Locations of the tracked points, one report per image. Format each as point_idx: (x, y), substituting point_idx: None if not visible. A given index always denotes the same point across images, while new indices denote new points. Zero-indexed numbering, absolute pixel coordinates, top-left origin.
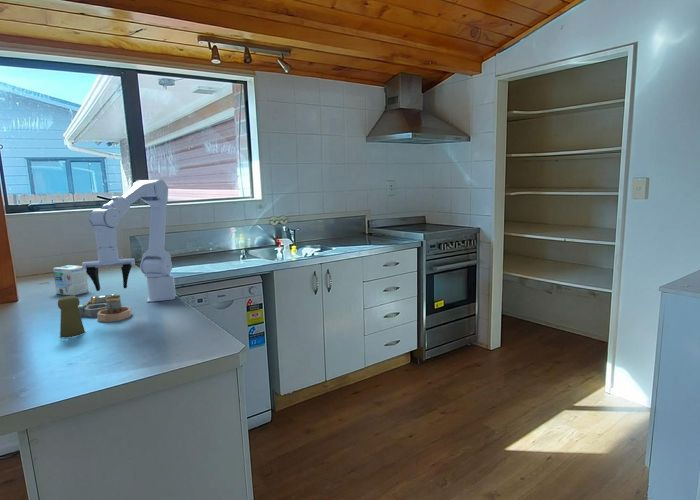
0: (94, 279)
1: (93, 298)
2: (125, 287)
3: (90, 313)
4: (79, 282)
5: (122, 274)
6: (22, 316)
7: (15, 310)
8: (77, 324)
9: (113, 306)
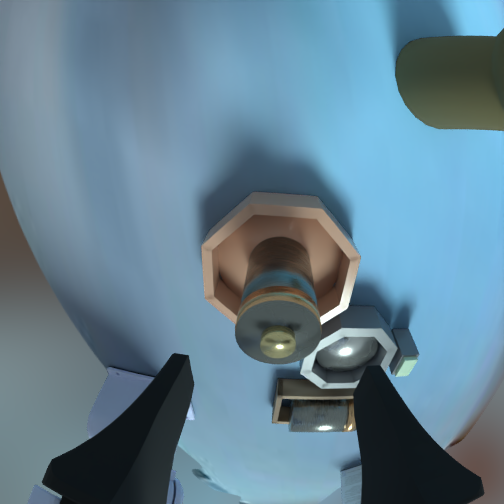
0: (412, 439)
1: (353, 420)
2: (173, 356)
3: (377, 317)
4: (357, 487)
5: (139, 450)
6: (490, 373)
7: (476, 408)
8: (436, 41)
9: (278, 269)
